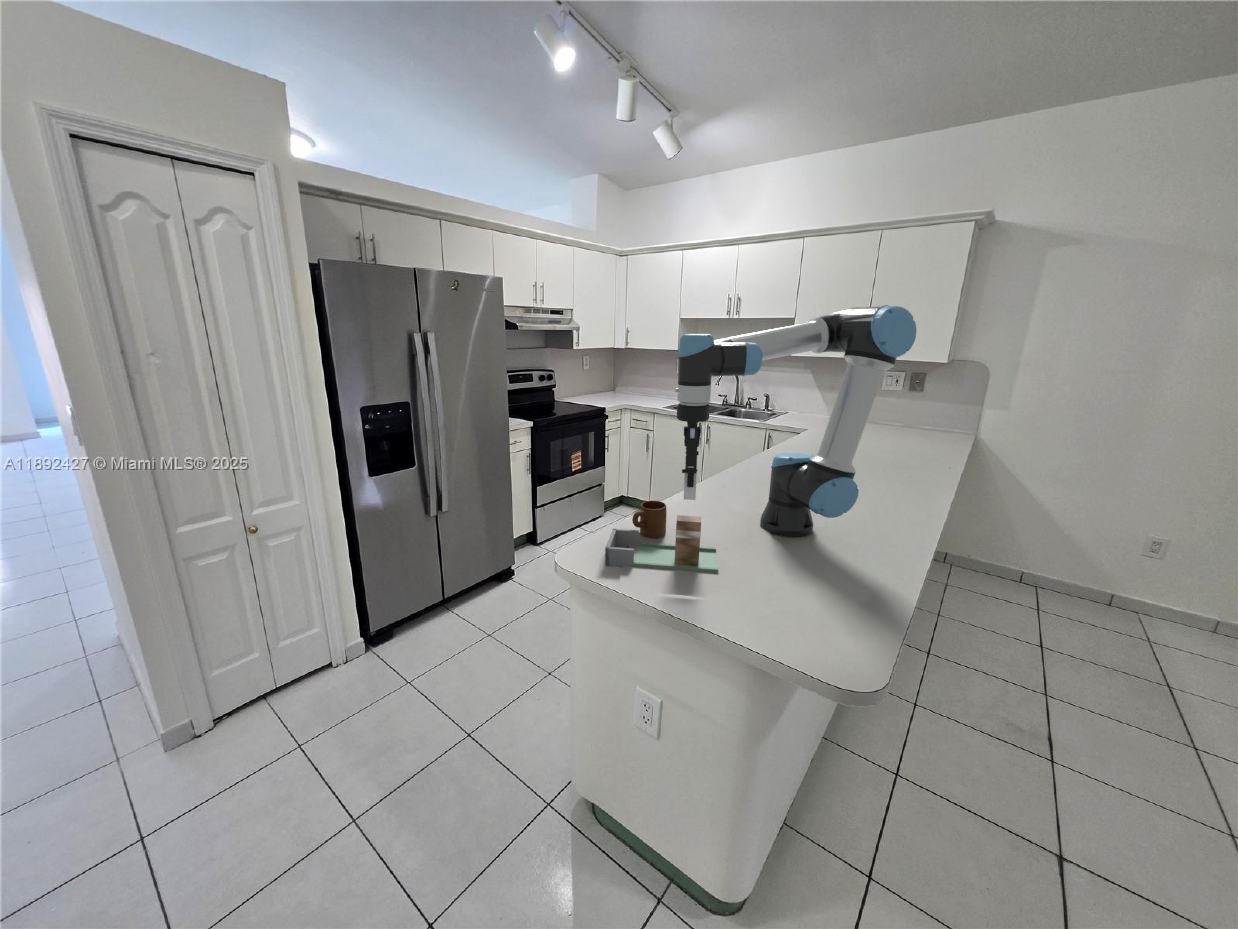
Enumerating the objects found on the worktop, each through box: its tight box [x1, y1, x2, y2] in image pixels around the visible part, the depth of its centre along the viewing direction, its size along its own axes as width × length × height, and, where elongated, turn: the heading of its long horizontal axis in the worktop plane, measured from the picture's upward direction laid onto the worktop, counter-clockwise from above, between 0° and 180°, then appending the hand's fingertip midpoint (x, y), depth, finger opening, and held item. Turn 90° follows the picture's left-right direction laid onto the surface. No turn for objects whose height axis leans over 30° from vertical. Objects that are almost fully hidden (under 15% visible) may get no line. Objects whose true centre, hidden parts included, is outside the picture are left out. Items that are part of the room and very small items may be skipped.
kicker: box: [674, 514, 702, 566], centre depth 117 cm, size 6×4×12 cm, turn 81°
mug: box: [631, 500, 668, 539], centre depth 133 cm, size 12×8×9 cm, turn 133°
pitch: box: [604, 528, 719, 574], centre depth 121 cm, size 28×12×5 cm, turn 81°
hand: (689, 489), depth 113 cm, fingers open, 13 cm apart
